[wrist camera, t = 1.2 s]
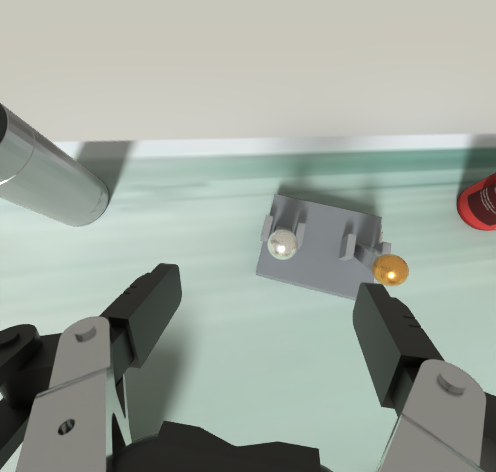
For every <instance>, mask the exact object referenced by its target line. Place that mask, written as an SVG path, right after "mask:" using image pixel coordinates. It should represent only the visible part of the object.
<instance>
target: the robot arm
mask: <svg viewBox="0 0 496 472" xmlns="http://www.w3.org/2000/svg"><path fill="white" fill-rule="evenodd" d="M0 198H3V199H5V200H8V201H10V202H12V203H15V204H17V205H20V206H22V207H25V208H27V209H30V210H32V211H35V212H37V213H40V214H42V215H45V216H47V217H49V218H52V219H54V220H57V221H59V222H62V223H64V224H67V225H70V226H84V225H87V224H89V223H91V222H93V221H95V220H96V219H97V218H98V217H100V216H101V214H102V213H103V212H104V210H105V209H106V207H107V204H108V199H109V194H108V190H107V187H106V185H105V184H104V183H103V182H102V181H101V180H99V179H98V178H97V177H96V176H94V175H93V174H92V173H90V172H89V171H88V170H87V169H86V168H84V167H83V166H82V165H80V164H79V163H78V162H76V161H75V160H74V159H73V158H71V157H70V156H69V155H67V154H66V153H65V152H64V151H62V150H61V149H60V148H58V147H57V146H56V145H54V144H53V143H52V142H51V141H49V140H48V139H47V138H45V137H44V136H43V135H41V134H40V133H39V132H37V131H36V130H35V129H34V128H32V127H31V126H30V125H29V124H27V123H26V122H24V121H23V120H22V119H21V118H19V117H18V116H17V115H15V114H14V113H13V112H11V111H10V110H9V109H8V108H6V107H5V106H4V105H2V104H1V103H0ZM181 297H182V290H181V281H180V273H179V267H178V265H176V264H165V263H160V264H159V265H158V266H157V267H156V268H155V269H154V270H153V271H152V272H151V273H146V274H145V275H143V276H141V277H139V278H137V279H136V280H135V281H134V282H133V283H132V284H131V285H130V287H129V288H127V289H126V290H125V291H124V292H123V294H121V295H120V296H119V297H118V298H117V299H116V300H115V301H114V302H113V303H112V304H111V305H110V306H109V307H108V308H107V309H106V310H105V311H104V312H103V313H102V314H101V315H100V316H96V317H89V318H85V319H82V320H80V321H78V322H76V323H74V324H72V325H71V326H69V327H68V328H67V329H66V330H65V331H64V332H63V333H59V334H51V335H44V336H40V335H39V333H38V331H37V329H36V327H35V326H33V325H30V324H22V325H16V326H13V327H10V328H7V329H5V330H2V331H0V392H1V394H2V396H3V397H4V398H3V399H2V400H1V401H0V469H1V468H2V467H3V466H4V464H5V463H6V462H7V461H8V459H9V458H10V457H11V456H12V454H13V453H14V452H15V451H16V449H17V448H18V447H19V446H20V444H21V443H22V442H23V445H22V449H21V452H20V456H19V460H18V464H17V468H16V472H332V471H331V470H330V469H328V468H327V467H325V466H323V465H321V464H320V457H319V449H317V448H311V447H306V446H300V445H295V444H289V443H284V442H270V443H263V444H255V445H247V446H234V445H231V444H230V443H228V442H226V441H224V440H222V439H220V438H219V437H217V436H215V435H213V434H211V433H209V432H208V431H206V430H204V429H202V428H200V427H196V426H191V425H185V424H180V423H174V422H169V421H164V422H163V424H162V426H161V429H160V431H159V433H158V434H155V435H151V436H148V437H144V438H142V439H139V440H137V441H134V442H133V443H132V440H131V435H130V430H129V421H128V409H127V396H126V384H125V376H124V373H125V371H126V370H127V368H128V367H136V368H141V367H142V365H143V363H144V362H145V360H146V358H147V357H148V355H149V354H150V352H151V350H152V349H153V347H154V345H155V344H156V342H157V341H158V339H159V337H160V336H161V334H162V333H163V331H164V329H165V328H166V326H167V324H168V323H169V321H170V320H171V318H172V316H173V315H174V313H175V311H176V310H177V308H178V307H179V305H180V302H181ZM353 325H354V329H355V332H356V335H357V337H358V340H359V343H360V346H361V349H362V352H363V355H364V358H365V361H366V364H367V367H368V370H369V372H370V375H371V378H372V381H373V384H374V387H375V390H376V393H377V396H378V399H379V402H380V405H381V407H386V408H393V409H395V411H396V413H397V416H398V419H397V421H396V423H395V426H394V428H393V430H392V433H391V435H390V438H389V440H388V443H387V445H386V448H385V450H384V452H383V455H382V457H381V460H380V462H379V465H378V467H377V470H376V472H496V396H494V395H491V394H488V393H486V392H484V391H483V389H482V388H481V387H480V385H479V384H478V383H477V382H476V381H475V380H474V379H473V378H472V377H471V376H470V375H469V374H467V373H466V372H465V371H463V370H462V369H460V368H458V367H456V366H455V365H452V364H450V363H448V362H445V360H444V359H443V358H442V356H441V355H440V353H439V352H438V350H437V349H436V347H435V346H434V345H433V343H432V342H431V340H430V339H429V337H428V336H427V334H426V333H425V331H424V330H423V329H422V328H421V326H420V324H419V323H418V321H417V320H416V319H415V317H414V315H413V314H412V313H411V311H410V310H409V308H408V307H407V306H406V305H405V304H403V303H402V302H401V301H400V300H398V299H397V298H393V297H390V295H389V294H388V292H387V290H386V289H385V287H384V286H383V285H382V284H376V283H365V282H362V283H361V284H360V286H359V290H358V294H357V298H356V302H355V306H354V310H353Z"/></svg>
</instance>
